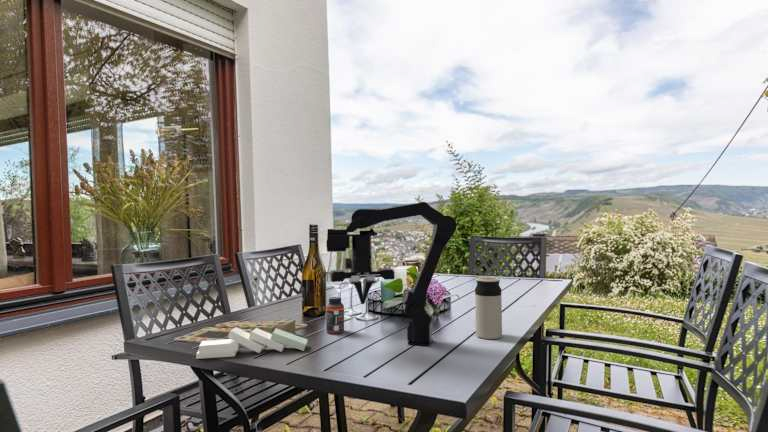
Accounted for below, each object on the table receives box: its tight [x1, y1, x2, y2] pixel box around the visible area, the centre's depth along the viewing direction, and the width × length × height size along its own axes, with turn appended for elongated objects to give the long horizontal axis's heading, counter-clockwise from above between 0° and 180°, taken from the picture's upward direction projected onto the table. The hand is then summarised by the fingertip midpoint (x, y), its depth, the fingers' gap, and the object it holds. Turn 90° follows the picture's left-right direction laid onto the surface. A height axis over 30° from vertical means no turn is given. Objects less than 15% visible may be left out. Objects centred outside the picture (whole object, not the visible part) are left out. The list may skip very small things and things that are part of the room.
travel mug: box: [474, 276, 503, 340], centre depth 139 cm, size 8×8×18 cm
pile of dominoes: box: [173, 318, 308, 348], centre depth 148 cm, size 35×27×6 cm
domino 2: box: [196, 350, 238, 360], centre depth 125 cm, size 2×5×10 cm
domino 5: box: [271, 328, 309, 352], centre depth 129 cm, size 2×5×10 cm
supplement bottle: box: [325, 296, 345, 335], centre depth 147 cm, size 6×6×11 cm
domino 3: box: [227, 327, 265, 354], centre depth 127 cm, size 2×5×10 cm
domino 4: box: [249, 328, 287, 353], centre depth 128 cm, size 2×5×10 cm
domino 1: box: [198, 338, 240, 353], centre depth 125 cm, size 2×5×10 cm
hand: (362, 303), depth 133 cm, fingers closed
